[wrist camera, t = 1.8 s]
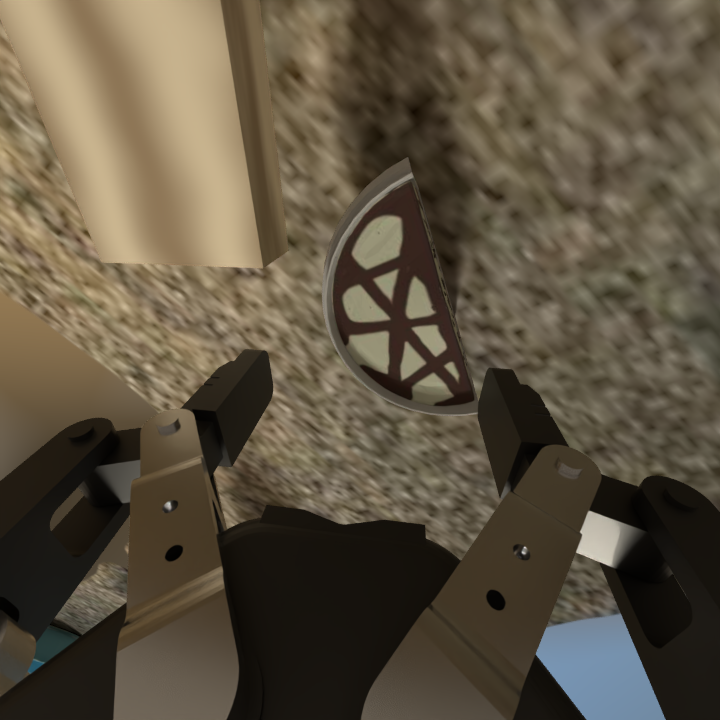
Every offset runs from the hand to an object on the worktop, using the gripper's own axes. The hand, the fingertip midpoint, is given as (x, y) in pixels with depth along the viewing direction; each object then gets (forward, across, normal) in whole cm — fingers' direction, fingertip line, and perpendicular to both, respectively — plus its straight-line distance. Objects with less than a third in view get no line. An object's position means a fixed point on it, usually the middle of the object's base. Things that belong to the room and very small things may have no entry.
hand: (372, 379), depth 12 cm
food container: (+14, 0, 0) cm, 14 cm away
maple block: (+14, +13, -9) cm, 21 cm away
